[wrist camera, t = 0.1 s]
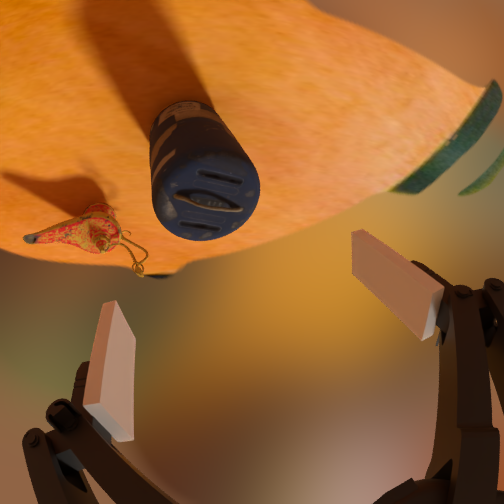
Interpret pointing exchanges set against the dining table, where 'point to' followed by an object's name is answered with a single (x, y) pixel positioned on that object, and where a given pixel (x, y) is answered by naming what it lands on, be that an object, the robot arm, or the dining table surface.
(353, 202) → the dining table surface
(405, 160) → the dining table surface
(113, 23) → the dining table surface
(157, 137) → the canister
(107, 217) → the magic lamp
